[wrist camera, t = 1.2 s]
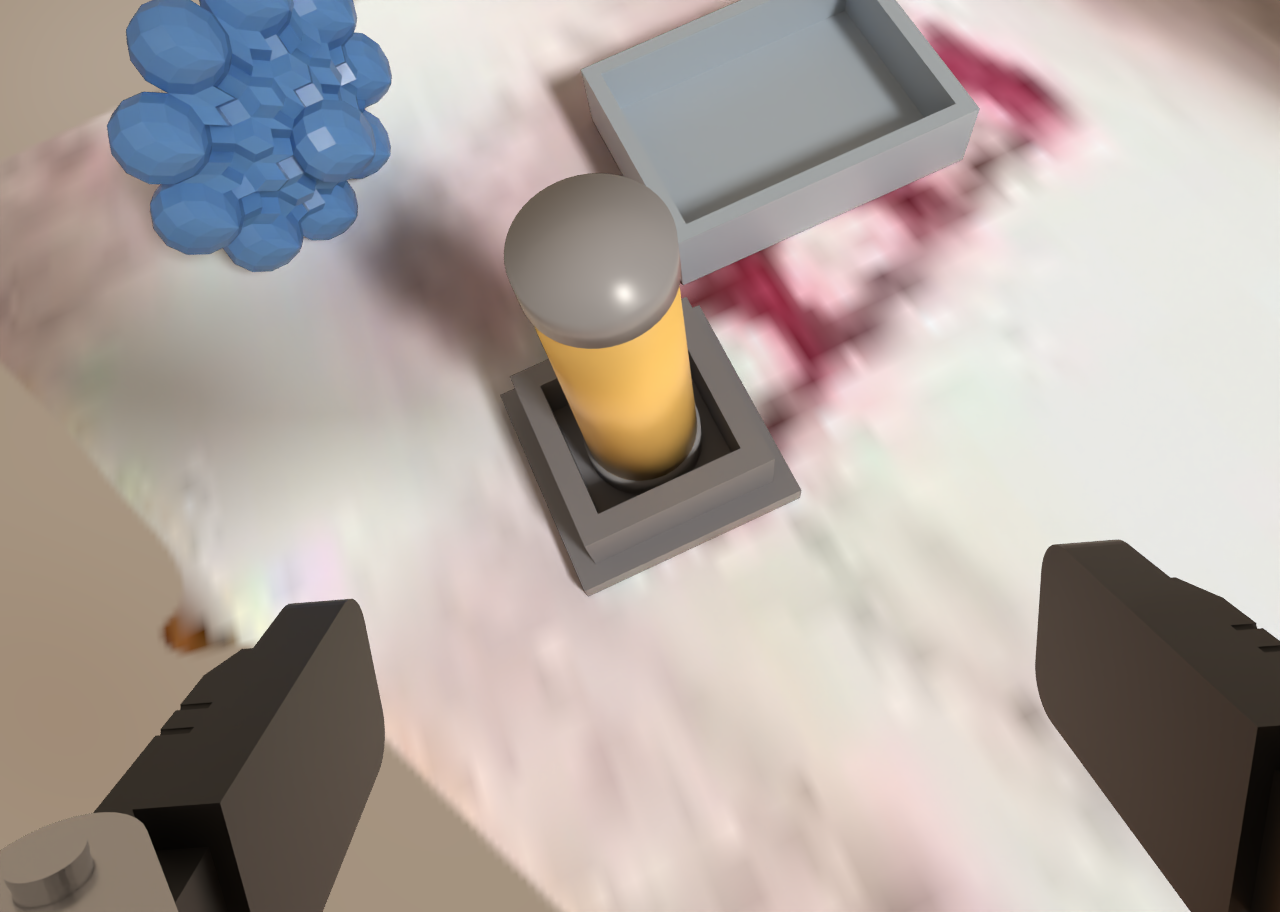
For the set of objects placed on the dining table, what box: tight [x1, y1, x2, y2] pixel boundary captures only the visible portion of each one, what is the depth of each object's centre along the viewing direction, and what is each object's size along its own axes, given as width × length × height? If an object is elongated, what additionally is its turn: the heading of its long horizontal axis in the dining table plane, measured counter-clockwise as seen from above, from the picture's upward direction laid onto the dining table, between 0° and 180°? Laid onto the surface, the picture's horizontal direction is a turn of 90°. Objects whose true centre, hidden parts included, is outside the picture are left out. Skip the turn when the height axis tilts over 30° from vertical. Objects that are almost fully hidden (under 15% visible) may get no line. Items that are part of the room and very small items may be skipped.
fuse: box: [504, 173, 702, 495], centre depth 26 cm, size 4×4×12 cm
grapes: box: [107, 0, 392, 272], centre depth 32 cm, size 12×7×12 cm, turn 155°
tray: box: [581, 0, 980, 285], centre depth 35 cm, size 12×9×3 cm
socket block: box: [500, 297, 801, 596], centre depth 31 cm, size 8×8×3 cm
